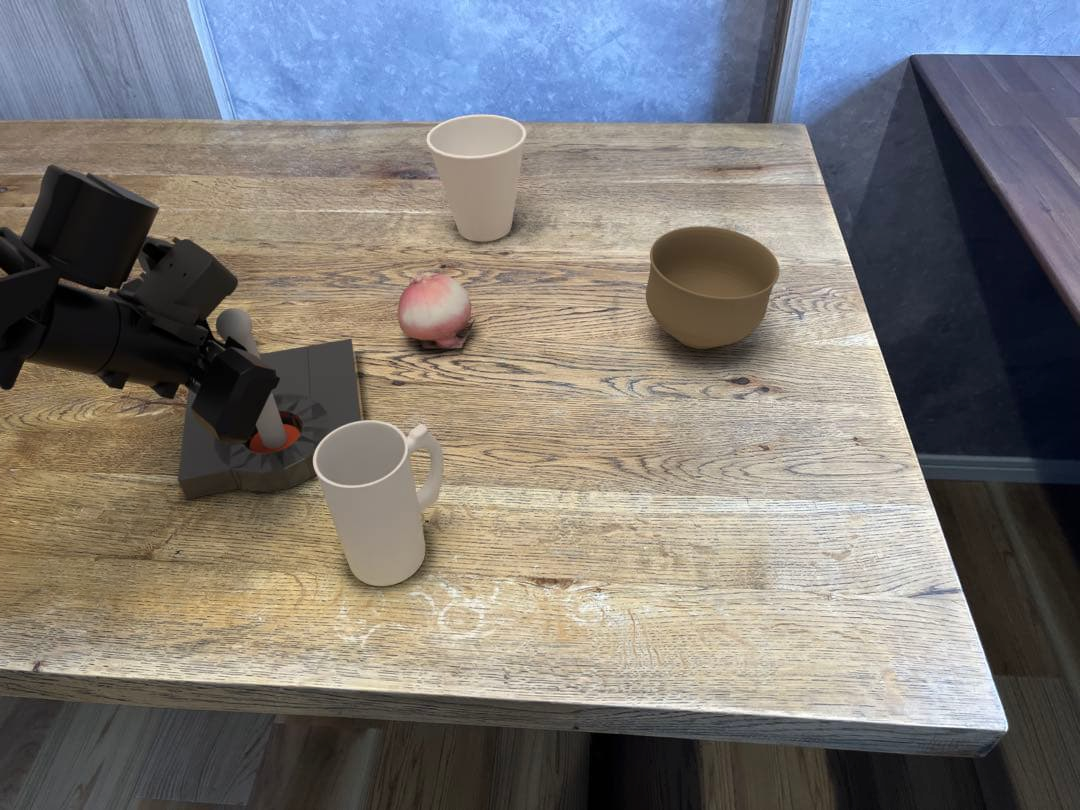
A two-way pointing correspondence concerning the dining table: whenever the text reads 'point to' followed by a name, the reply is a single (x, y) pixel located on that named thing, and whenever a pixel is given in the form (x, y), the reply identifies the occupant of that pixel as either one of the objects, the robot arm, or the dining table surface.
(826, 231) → the dining table surface
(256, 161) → the dining table surface
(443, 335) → the onion
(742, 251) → the bowl
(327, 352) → the sink board
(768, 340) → the dining table surface
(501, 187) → the cup
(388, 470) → the mug
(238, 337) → the stopper
